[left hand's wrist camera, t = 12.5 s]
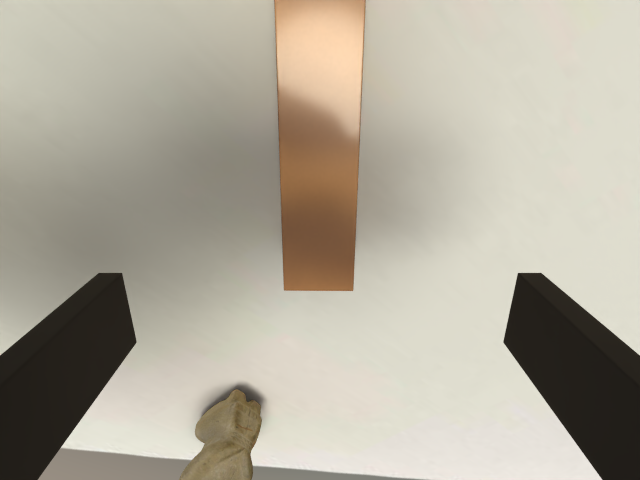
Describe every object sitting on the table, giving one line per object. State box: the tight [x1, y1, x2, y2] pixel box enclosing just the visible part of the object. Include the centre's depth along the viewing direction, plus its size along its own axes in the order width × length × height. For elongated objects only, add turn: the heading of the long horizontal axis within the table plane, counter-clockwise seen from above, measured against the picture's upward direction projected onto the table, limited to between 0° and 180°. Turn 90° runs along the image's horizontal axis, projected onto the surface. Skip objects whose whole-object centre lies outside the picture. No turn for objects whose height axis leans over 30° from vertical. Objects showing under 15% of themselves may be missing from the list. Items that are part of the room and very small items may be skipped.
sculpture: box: [179, 389, 262, 480], centre depth 34 cm, size 6×7×15 cm
